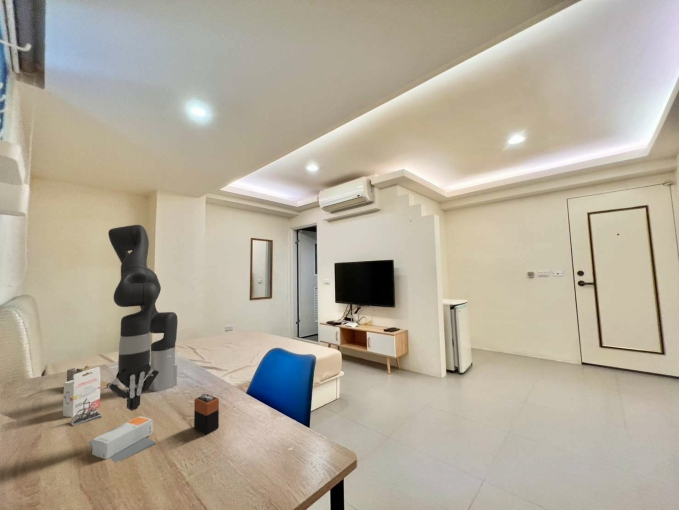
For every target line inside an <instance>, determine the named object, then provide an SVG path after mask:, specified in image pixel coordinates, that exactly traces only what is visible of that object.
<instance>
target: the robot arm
mask: <svg viewBox="0 0 679 510" xmlns="http://www.w3.org/2000/svg"><path fill="white" fill-rule="evenodd" d="M107 234H108V238H109V242H110V244H111V246H112V248H113V250H114V253H115V254H116V255H117V257H118V259H119V262H120V263H121V264H120V281H119V282H118V284H117V286H116V288H115V289H114V293H113V302H114V304H115V305H116V306H118V307H121V308H129V307H130V308H131V307H139V308H140V310H139V311H137V312H133V313H130V314H127V315H125V316H123V317H122V318H121V320H120V336H119V343H118V361H117V362H118V363H117V365H118V366H117V368H118V371H117V373H116V375H115V379H113V381H111V382H108V384H107V388H106V389H109V390H110V391H111V392H112V393H114V394H115V395H116V396H118V397H119V398H122V399H126V409H128V410H130V412H132V411H136V410H137V409H139V407H140V404H141V395H142V394H143V393H144V392H146V391H148V390H149V391H150V390H152V391H151V392H162V391H161V390H163V391H166V389H167V390H169V388H170V389H172V388H173V387H175V386H177V383H178V363H176V342H177V336H178V335H177V333H178V315H177V313H176V312H172V311H164V312H161V311H160V312H159V311H158V310H157V307H156V303H157V300H158V298H159V296H160V292H161V291H162V290H161V289H162V287H161V286H162V285H161V283H160V280H159V278H158V275H157V273H155V271H153V270H152V269H151V268H149V267H148V265H147V264H148V263H147V261H148V256H149V255H148V254H149V245H150V241H149V236H148V233H147V230H146V229H145V227H144V226H143V225H141V224H132V225H127V226H119V227H113V228H109V230H108V233H107ZM151 334H163V336H162V338H161V339H159V340H156V341H154V342H152V343H151ZM120 383H121V384H122V385H123V386H124V389H125V391H124V390H122V389H121V388H120V386H121V385H120Z"/></svg>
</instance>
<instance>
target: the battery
mask: <svg viewBox="0 0 679 510" xmlns="http://www.w3.org/2000/svg"><path fill="white" fill-rule="evenodd" d="M193 405H194V410H193V411H194V412H193V413H194V414H193V415H194V416H193V417H194V419H193V420H194V421H193V426H194V427H193V428H194V429H195V430H197V431H198V432H200V433H202V434H204V435H209V434H210V433H212V432H214V431H215V430H218V429H219V427H220V426H219V425H220V424H219V423H220V420H219V419H220V412H219V411H220V410H219V409H220V406H219V405H220V399H219V398H218V397H217V396H214V395H213V394H212V395H210V394H208V393H202V394H200V396H199V397H196V398H194V404H193Z"/></svg>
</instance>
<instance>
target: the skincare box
mask: <svg viewBox="0 0 679 510" xmlns="http://www.w3.org/2000/svg"><path fill="white" fill-rule="evenodd" d="M151 434H153V419H152V418H149V417H148V418H147V417H146V416H145V417H144V416H141V415H139V416H137V417H135V418H133V419H131V420H128V421H127V422H124V423H123V424H120V425H119V426H117V427H115V428H112V429H111V430H109V431H107V432H105V433H102V434H101V435H99V436H96V437H94V438H93V439H92V440H93V447H92V446H91V447H92V450H91V451H92V453H91V455H92V456H95V457H97V458H99V457H100V459H103V460H108V459H109V458H110V457H111V456H113V455H115V454H117V453H118V452H120V451H122V450H124V449H125V448H127V447H129V446H131V445H132V444H134V443H136V442H138V441H139V440H141V439H143V438H145V437H148V436H149V435H151Z"/></svg>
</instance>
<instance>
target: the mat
mask: <svg viewBox="0 0 679 510" xmlns="http://www.w3.org/2000/svg"><path fill="white" fill-rule="evenodd" d="M156 443H157V442H156V441H154V440H152V439H151V438H149V437H148V436H146V437H145V438H143V439H141V440H139V441H138V442H136V443H134V444H132V445H131V446H129V447H127V448H125V449H124V450H122V451H120V452H118V453H117V454H115V455H113V456H111V457H110V458H111V459H110V458H108V459H109V460H111V461H112V462H114V463H115V464H118V463H119V462H118V461H120V462H121V460H122V461H124V460H126V459H128V458H130V457H132V456H134V455H137V454H139V453H140V452H143V451H145V450H147V449H149V448H151V447H153V446H155V445H157V444H156ZM87 445H89V446H91V447H93V439H92V440H90V441H87ZM123 459H124V460H123ZM116 461H117V462H118V463H117V462H116Z"/></svg>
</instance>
